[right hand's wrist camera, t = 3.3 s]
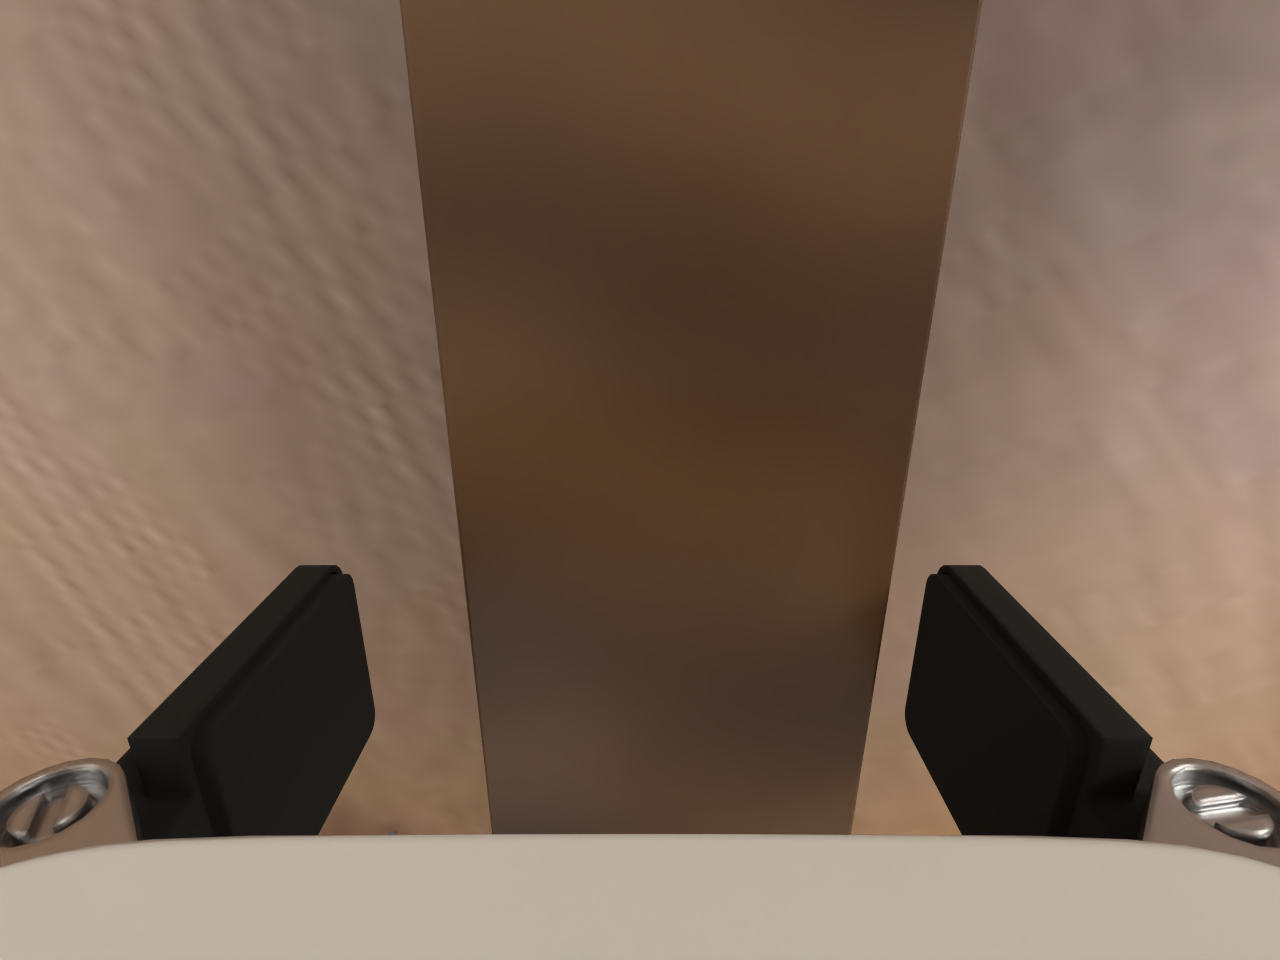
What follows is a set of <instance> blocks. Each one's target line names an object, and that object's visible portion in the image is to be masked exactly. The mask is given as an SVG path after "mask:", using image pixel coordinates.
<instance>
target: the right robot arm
mask: <svg viewBox="0 0 1280 960" xmlns="http://www.w3.org/2000/svg"><path fill="white" fill-rule="evenodd" d="M374 721H375V707H374V701H373V695H372V689H371V684H370V678H369V672H368V666H367V660H366V654H365V648H364V642H363V636H362V630H361V624H360V618H359V612H358V606H357V600H356V594H355V588H354V583H353V579H352V577H351V576H350V575H349V574H343V573H342V571H341V569H340V568H339V567H338V566H337V565H300V566H298V567H297V568H295V569H294V570H293V571H292V572H291V573H290V574H289V575H288V576H287V577H286V578H285V579H284V580H283V581H282V582H281V583H280V585H279V586H278V587H277V588H276V589H275V590H274V591H273V592H272V593H271V594H270V595H269V596H268V597H267V598H266V599H265V600H264V601H263V602H262V603H261V604H260V605H259V606H258V607H257V608H256V609H255V610H254V611H253V612H252V613H251V614H250V615H249V616H248V617H247V618H246V619H245V620H244V621H243V622H242V623H241V624H240V625H239V626H238V627H237V628H236V629H235V630H234V631H233V632H232V633H231V634H230V635H229V636H228V637H227V638H226V639H225V640H224V641H223V642H222V643H221V644H220V645H219V646H218V647H217V648H216V649H215V650H214V651H213V652H212V653H211V654H210V655H209V656H208V657H207V658H206V659H205V660H204V661H203V662H202V663H201V664H200V665H199V666H198V667H197V668H196V669H195V670H194V671H193V672H192V673H191V674H190V675H189V676H188V677H187V678H186V679H185V680H184V681H183V682H182V683H181V684H180V685H179V686H178V687H177V689H176V690H175V691H174V692H173V693H172V694H171V695H170V696H169V697H168V698H167V699H166V700H165V701H164V702H163V703H162V704H161V705H160V706H159V707H158V708H157V709H156V710H155V711H154V712H153V713H152V714H151V715H150V716H149V717H148V718H147V719H146V720H145V721H144V722H143V723H142V724H141V725H140V726H139V727H138V728H137V729H136V730H135V731H134V732H133V733H132V734H131V735H130V736H129V737H128V738H127V739H128V742H129V745H130V749H129V750H128V751H127V752H126V753H125V754H124V755H123V756H122V757H121V758H120V759H119V760H118V761H117V762H116V763H115V762H112V761H110V760H108V759H97V758H87V759H80V760H73V761H68V762H64V763H61V764H58V765H54V766H51V767H48V768H45V769H42V770H40V771H38V772H36V773H33V774H31V775H29V776H27V777H24V778H22V779H20V780H19V781H17V782H15V783H14V784H12V785H10V786H9V787H7V788H5V789H4V790H2V791H0V960H1280V791H1278V790H1276V789H1275V788H1273V787H1271V786H1270V785H1268V784H1266V783H1265V782H1263V781H1261V780H1260V779H1258V778H1256V777H1253V776H1251V775H1249V774H1247V773H1244V772H1242V771H1240V770H1238V769H1235V768H1232V767H1229V766H1226V765H1222V764H1219V763H1216V762H1212V761H1207V760H1200V759H1193V758H1183V759H1172V760H1170V761H1168V762H1165V763H1164V762H1163V761H1162V760H1161V759H1160V758H1159V757H1158V756H1157V755H1156V754H1155V753H1154V752H1153V751H1152V750H1151V749H1150V745H1151V742H1152V739H1153V738H1152V737H1151V736H1150V735H1149V734H1148V733H1147V732H1146V731H1145V730H1144V729H1143V728H1142V727H1141V726H1140V725H1139V724H1138V723H1137V722H1136V721H1135V720H1134V719H1133V718H1132V717H1131V716H1130V715H1129V714H1128V713H1127V712H1126V711H1125V710H1124V709H1123V708H1122V707H1121V706H1120V705H1119V704H1118V703H1117V702H1116V701H1115V700H1114V699H1113V698H1112V697H1111V696H1110V695H1109V694H1108V693H1107V692H1106V691H1105V690H1104V689H1103V687H1102V686H1101V685H1100V684H1099V683H1098V682H1097V681H1096V680H1095V679H1094V678H1093V677H1092V676H1091V675H1090V674H1089V673H1088V672H1087V671H1086V670H1085V669H1084V668H1083V667H1082V666H1081V665H1080V664H1079V663H1078V662H1077V661H1076V660H1075V659H1074V658H1073V657H1072V656H1071V655H1070V654H1069V653H1068V652H1067V651H1066V650H1065V649H1064V648H1063V647H1062V646H1061V645H1060V644H1059V643H1058V642H1057V641H1056V640H1055V639H1054V638H1053V637H1052V636H1051V635H1050V634H1049V633H1048V632H1047V631H1046V630H1045V629H1044V628H1043V627H1042V626H1041V625H1040V624H1039V623H1038V622H1037V621H1036V620H1035V619H1034V618H1033V617H1032V616H1031V615H1030V614H1029V613H1028V612H1027V611H1026V610H1025V609H1024V608H1023V607H1022V606H1021V605H1020V604H1019V603H1018V602H1017V601H1016V600H1015V599H1014V598H1013V597H1012V596H1011V595H1010V594H1009V593H1008V592H1007V591H1006V590H1005V589H1004V588H1003V587H1002V586H1001V585H1000V583H999V582H998V581H997V580H996V579H995V578H994V577H993V576H992V575H991V574H990V573H989V572H988V571H987V570H986V569H985V568H983V567H982V566H980V565H943V566H942V567H941V568H940V569H939V571H938V573H937V574H931V575H930V576H929V577H928V579H927V583H926V588H925V594H924V600H923V606H922V612H921V618H920V624H919V630H918V636H917V642H916V648H915V654H914V660H913V666H912V672H911V678H910V683H909V689H908V695H907V701H906V707H905V721H906V726H907V730H908V732H909V735H910V737H911V739H912V740H913V742H914V744H915V746H916V748H917V750H918V752H919V754H920V756H921V758H922V760H923V761H924V763H925V765H926V767H927V769H928V771H929V773H930V775H931V777H932V779H933V781H934V782H935V784H936V786H937V788H938V790H939V792H940V794H941V796H942V798H943V800H944V802H945V803H946V805H947V807H948V809H949V811H950V813H951V815H952V817H953V819H954V821H955V823H956V824H957V826H958V828H959V830H960V832H961V834H962V835H836V834H445V835H318V834H319V832H320V830H321V828H322V826H323V824H324V823H325V821H326V819H327V817H328V815H329V813H330V811H331V809H332V807H333V805H334V803H335V802H336V800H337V798H338V796H339V794H340V792H341V790H342V788H343V786H344V784H345V782H346V781H347V779H348V777H349V775H350V773H351V771H352V769H353V767H354V765H355V763H356V761H357V760H358V758H359V756H360V754H361V752H362V750H363V748H364V746H365V744H366V742H367V740H368V739H369V737H370V735H371V732H372V730H373V726H374Z"/></svg>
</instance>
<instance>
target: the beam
mask: <svg viewBox="0 0 1280 960" xmlns="http://www.w3.org/2000/svg"><path fill="white" fill-rule="evenodd" d="M981 5H982V0H400V7H401V16H402V25H403V34H404V43H405V52H406V61H407V70H408V79H409V88H410V97H411V106H412V115H413V124H414V133H415V142H416V151H417V160H418V169H419V178H420V187H421V196H422V205H423V214H424V223H425V232H426V241H427V250H428V259H429V268H430V277H431V286H432V295H433V304H434V313H435V322H436V331H437V340H438V349H439V358H440V367H441V376H442V385H443V394H444V403H445V412H446V421H447V430H448V439H449V448H450V457H451V466H452V475H453V484H454V493H455V502H456V511H457V520H458V529H459V538H460V547H461V556H462V565H463V574H464V583H465V592H466V602H467V611H468V620H469V629H470V638H471V647H472V656H473V665H474V674H475V683H476V692H477V701H478V710H479V719H480V728H481V737H482V746H483V755H484V764H485V773H486V782H487V791H488V800H489V809H490V818H491V827H492V834H836V835H851V830H852V823H853V817H854V811H855V804H856V798H857V792H858V785H859V779H860V773H861V766H862V760H863V754H864V747H865V741H866V735H867V728H868V722H869V716H870V709H871V703H872V696H873V690H874V684H875V677H876V671H877V665H878V658H879V652H880V646H881V639H882V633H883V627H884V620H885V614H886V608H887V601H888V595H889V589H890V582H891V576H892V570H893V563H894V557H895V551H896V544H897V538H898V531H899V525H900V519H901V512H902V506H903V500H904V493H905V487H906V481H907V474H908V468H909V462H910V455H911V449H912V443H913V436H914V430H915V424H916V417H917V411H918V405H919V398H920V392H921V386H922V379H923V373H924V367H925V360H926V354H927V347H928V341H929V335H930V328H931V322H932V316H933V309H934V303H935V297H936V290H937V284H938V278H939V271H940V265H941V259H942V252H943V246H944V240H945V233H946V227H947V221H948V214H949V208H950V202H951V195H952V189H953V182H954V176H955V170H956V163H957V157H958V151H959V144H960V138H961V132H962V125H963V119H964V113H965V106H966V100H967V94H968V87H969V81H970V75H971V68H972V62H973V56H974V49H975V43H976V37H977V30H978V24H979V17H980V11H981Z"/></svg>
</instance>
